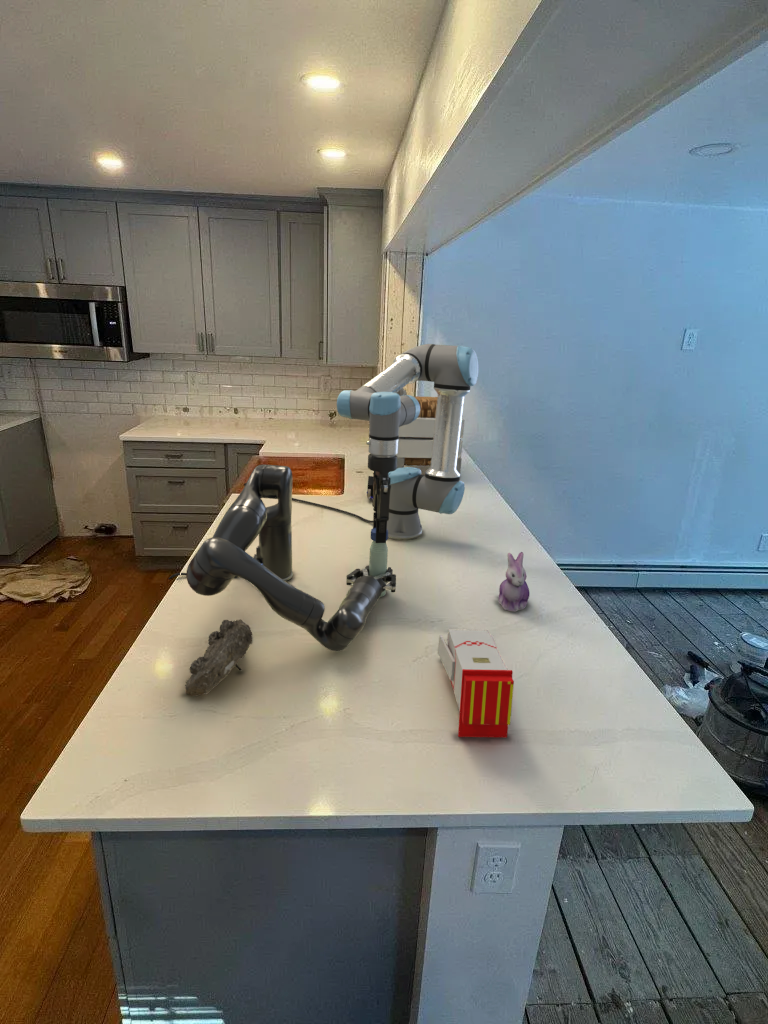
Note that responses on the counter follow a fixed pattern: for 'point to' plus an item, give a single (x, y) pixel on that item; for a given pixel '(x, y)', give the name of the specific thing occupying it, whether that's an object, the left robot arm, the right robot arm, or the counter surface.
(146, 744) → the counter surface
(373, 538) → the cap
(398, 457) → the white crate
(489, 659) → the toy
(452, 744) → the counter surface
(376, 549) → the bottle
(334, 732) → the counter surface
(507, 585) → the figurine
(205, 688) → the fossil
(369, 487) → the figurine character
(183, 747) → the counter surface
